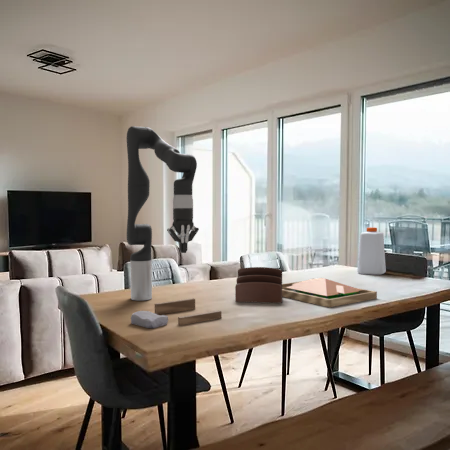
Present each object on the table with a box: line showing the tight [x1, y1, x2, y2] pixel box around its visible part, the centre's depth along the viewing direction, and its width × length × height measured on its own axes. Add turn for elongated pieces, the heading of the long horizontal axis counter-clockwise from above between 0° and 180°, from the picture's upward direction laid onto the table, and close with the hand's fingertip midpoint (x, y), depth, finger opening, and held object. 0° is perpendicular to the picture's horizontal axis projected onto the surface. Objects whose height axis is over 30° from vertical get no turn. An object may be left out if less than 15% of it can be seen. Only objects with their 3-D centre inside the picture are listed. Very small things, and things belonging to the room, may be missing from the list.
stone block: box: [130, 310, 169, 329], centre depth 154 cm, size 12×5×10 cm
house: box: [285, 277, 362, 299], centre depth 204 cm, size 23×33×8 cm
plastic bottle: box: [356, 226, 387, 276], centre depth 271 cm, size 15×15×28 cm
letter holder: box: [234, 266, 283, 304], centre depth 192 cm, size 10×20×14 cm, turn 81°
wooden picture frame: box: [282, 280, 378, 308], centre depth 203 cm, size 40×30×3 cm
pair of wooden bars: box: [154, 297, 222, 326], centre depth 164 cm, size 20×17×4 cm
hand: (183, 252), depth 168 cm, fingers closed
